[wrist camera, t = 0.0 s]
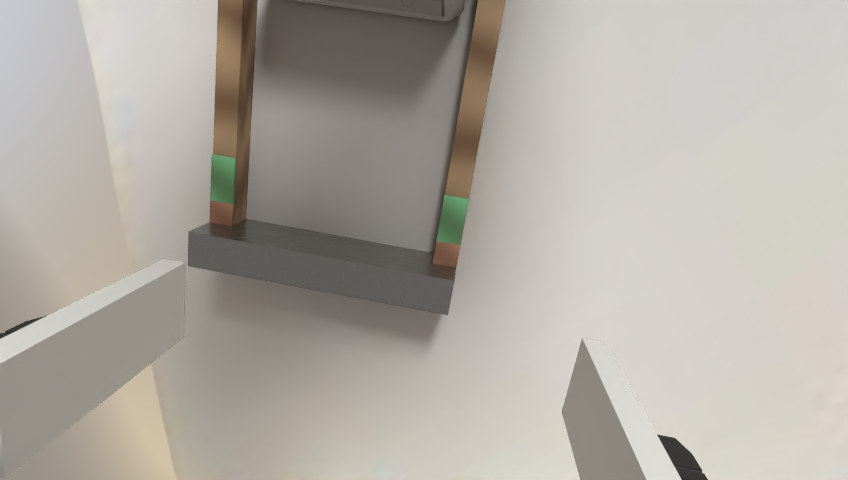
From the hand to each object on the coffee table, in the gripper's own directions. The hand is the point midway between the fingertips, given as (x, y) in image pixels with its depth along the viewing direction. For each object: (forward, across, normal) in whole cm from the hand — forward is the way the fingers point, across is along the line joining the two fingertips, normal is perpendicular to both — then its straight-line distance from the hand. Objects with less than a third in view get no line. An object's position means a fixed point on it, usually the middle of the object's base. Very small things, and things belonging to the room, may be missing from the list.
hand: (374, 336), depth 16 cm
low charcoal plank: (+28, -8, -7) cm, 30 cm away
